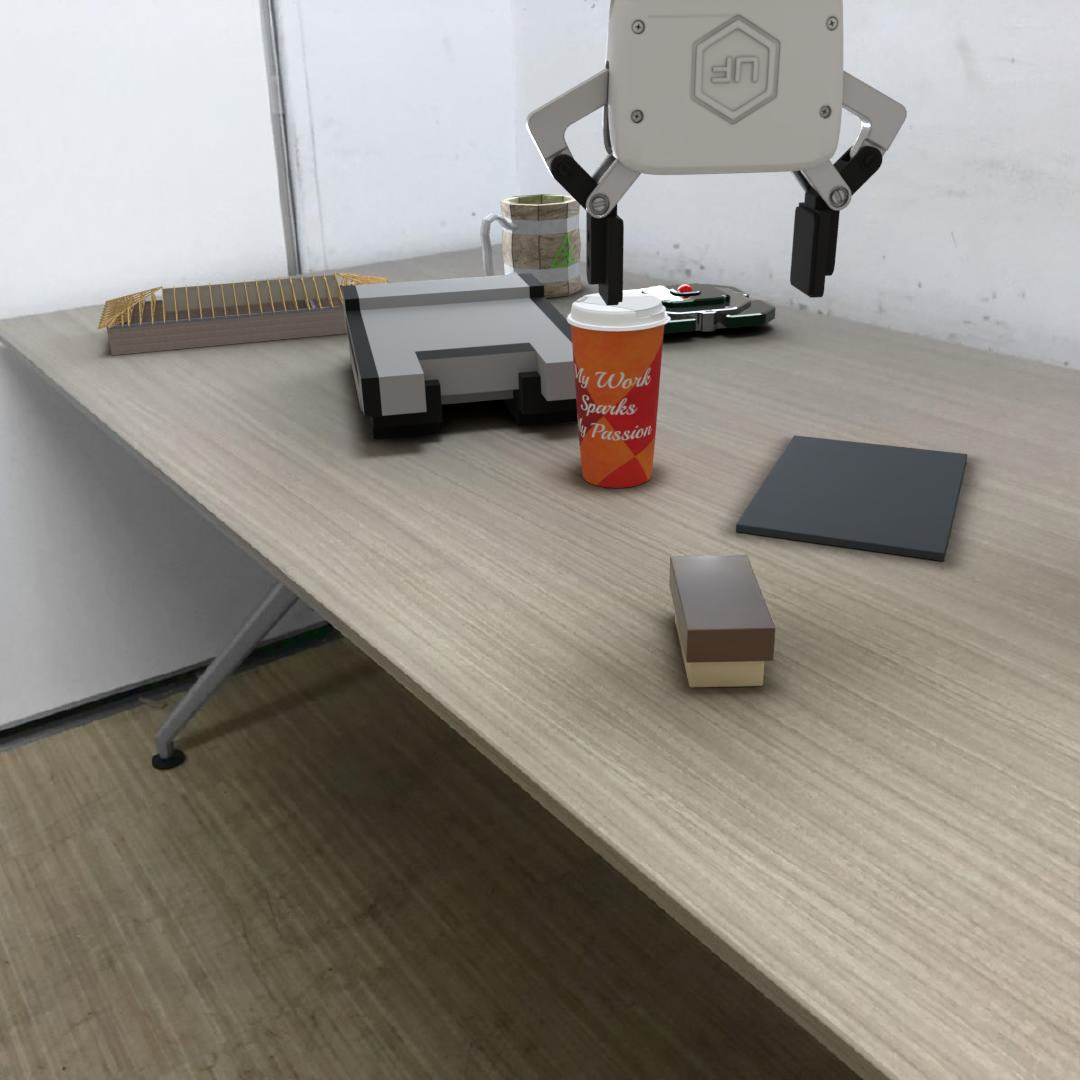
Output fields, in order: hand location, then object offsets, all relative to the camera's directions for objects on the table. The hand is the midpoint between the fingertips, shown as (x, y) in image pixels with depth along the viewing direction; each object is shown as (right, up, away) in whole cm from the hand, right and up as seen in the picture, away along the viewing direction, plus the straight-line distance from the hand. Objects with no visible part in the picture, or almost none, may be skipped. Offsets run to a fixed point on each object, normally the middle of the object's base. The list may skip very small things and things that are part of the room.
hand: (708, 295), depth 54 cm
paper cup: (-2, -7, +36) cm, 36 cm away
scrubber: (+2, -18, +10) cm, 21 cm away
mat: (+16, -8, +31) cm, 36 cm away
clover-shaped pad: (+9, +14, +81) cm, 83 cm away
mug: (-10, +22, +98) cm, 101 cm away
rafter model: (-43, +14, +83) cm, 95 cm away
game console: (-16, +2, +57) cm, 59 cm away
